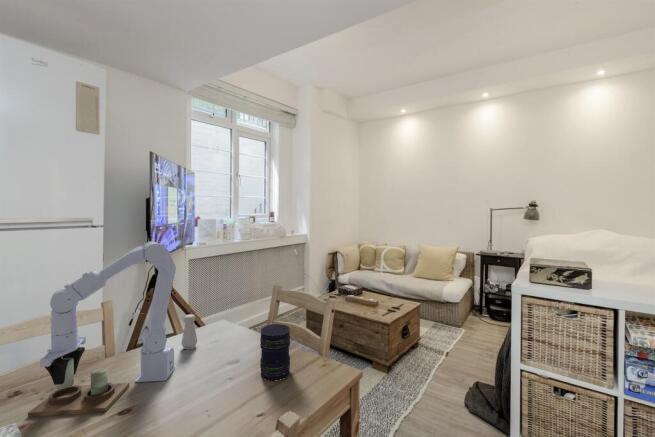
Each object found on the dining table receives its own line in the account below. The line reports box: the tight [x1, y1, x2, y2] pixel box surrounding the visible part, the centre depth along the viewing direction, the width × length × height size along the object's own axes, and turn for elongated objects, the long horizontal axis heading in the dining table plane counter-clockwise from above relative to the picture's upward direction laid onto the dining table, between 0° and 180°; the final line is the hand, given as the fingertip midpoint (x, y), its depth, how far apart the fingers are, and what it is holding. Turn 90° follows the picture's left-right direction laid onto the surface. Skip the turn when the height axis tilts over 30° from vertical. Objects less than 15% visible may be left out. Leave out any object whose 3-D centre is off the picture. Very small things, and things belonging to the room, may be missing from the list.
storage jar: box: [259, 323, 291, 382], centre depth 102 cm, size 10×10×15 cm
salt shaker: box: [181, 313, 198, 351], centre depth 121 cm, size 6×6×13 cm
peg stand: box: [27, 367, 130, 418], centre depth 87 cm, size 19×12×8 cm, turn 97°
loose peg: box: [54, 358, 75, 390], centre depth 86 cm, size 4×4×7 cm
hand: (65, 379), depth 86 cm, fingers closed on loose peg, 4 cm apart
